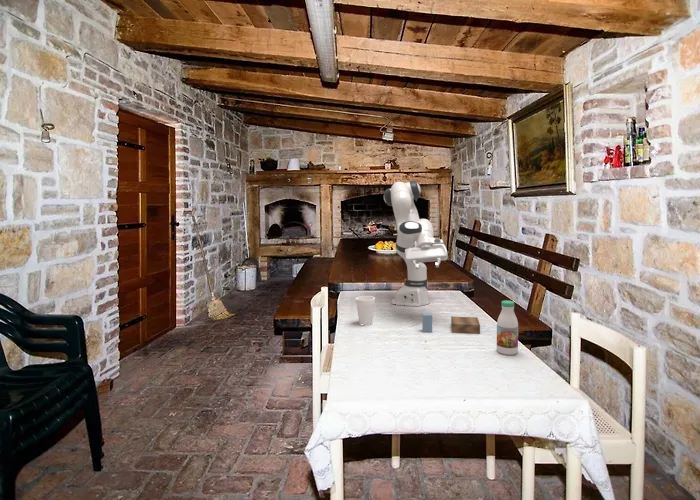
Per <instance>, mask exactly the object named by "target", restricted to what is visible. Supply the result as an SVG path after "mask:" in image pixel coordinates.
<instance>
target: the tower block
mask: <svg viewBox="0 0 700 500" xmlns="http://www.w3.org/2000/svg"><path fill="white" fill-rule="evenodd" d="M421 315H422V320H421V322H422V323H421V324H422V332H423V333H433V313H431V312H422V314H421Z"/></svg>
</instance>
